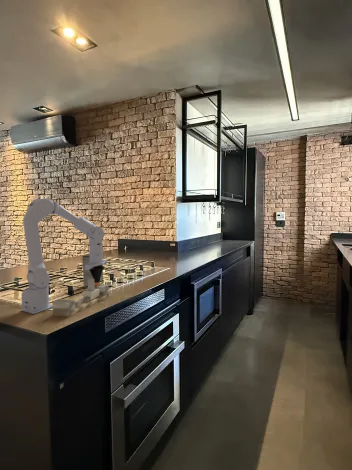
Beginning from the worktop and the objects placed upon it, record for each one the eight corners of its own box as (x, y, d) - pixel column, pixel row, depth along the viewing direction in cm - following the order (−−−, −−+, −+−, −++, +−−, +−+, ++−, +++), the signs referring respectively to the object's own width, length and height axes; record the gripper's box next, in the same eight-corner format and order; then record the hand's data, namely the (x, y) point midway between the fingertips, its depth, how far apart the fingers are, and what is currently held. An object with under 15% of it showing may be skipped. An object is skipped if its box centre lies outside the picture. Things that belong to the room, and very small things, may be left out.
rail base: (68, 317, 109) (67, 303, 108) (52, 315, 111) (52, 301, 110) (108, 296, 135) (108, 285, 135) (95, 294, 137) (95, 283, 137)
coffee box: (93, 282, 161) (92, 253, 159) (103, 283, 159) (102, 253, 157) (82, 286, 152) (82, 255, 150) (93, 287, 150) (92, 256, 148)
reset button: (97, 289, 133) (97, 283, 133) (93, 289, 134) (93, 282, 133) (100, 288, 135) (100, 282, 135) (96, 287, 136) (96, 281, 136)
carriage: (91, 299, 124) (91, 281, 124) (82, 298, 126) (82, 280, 125) (99, 295, 130) (99, 278, 129) (91, 294, 132) (90, 277, 131)
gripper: (94, 255, 125) (95, 287, 126) (112, 251, 138) (112, 279, 140) (80, 255, 127) (81, 285, 128) (99, 250, 141) (100, 278, 142)
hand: (96, 282), depth 134 cm, fingers closed, pressing on reset button
